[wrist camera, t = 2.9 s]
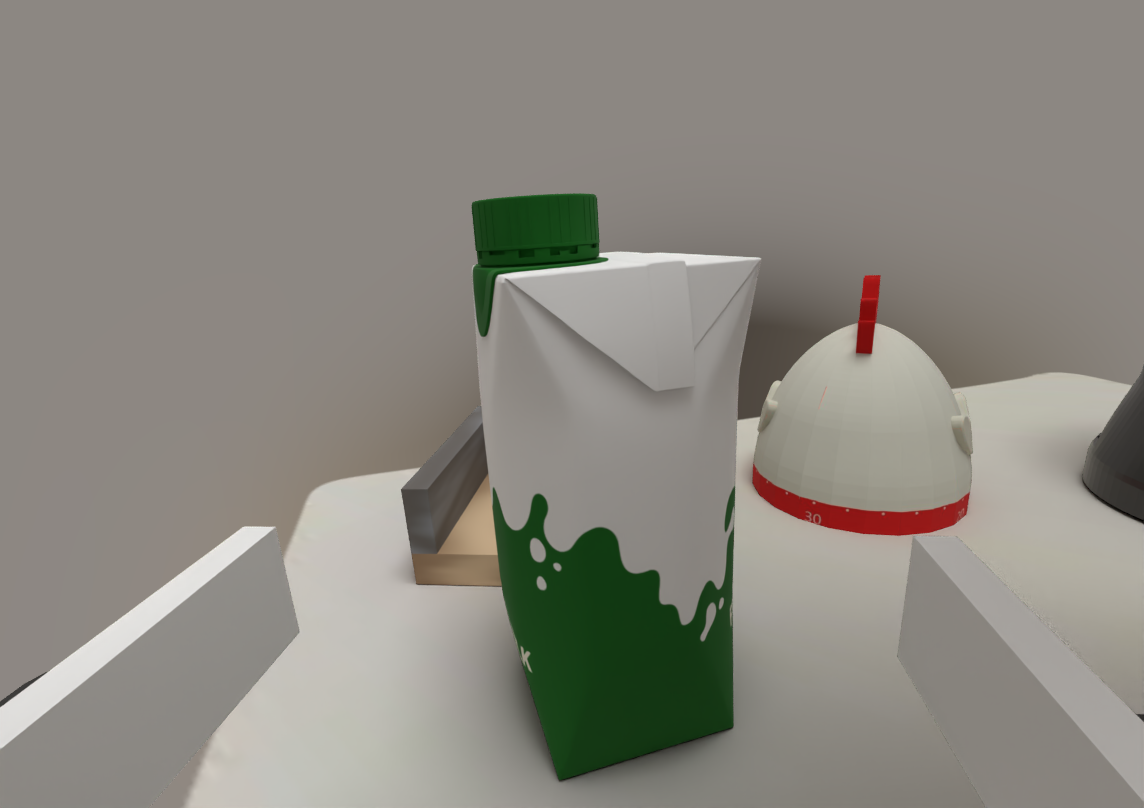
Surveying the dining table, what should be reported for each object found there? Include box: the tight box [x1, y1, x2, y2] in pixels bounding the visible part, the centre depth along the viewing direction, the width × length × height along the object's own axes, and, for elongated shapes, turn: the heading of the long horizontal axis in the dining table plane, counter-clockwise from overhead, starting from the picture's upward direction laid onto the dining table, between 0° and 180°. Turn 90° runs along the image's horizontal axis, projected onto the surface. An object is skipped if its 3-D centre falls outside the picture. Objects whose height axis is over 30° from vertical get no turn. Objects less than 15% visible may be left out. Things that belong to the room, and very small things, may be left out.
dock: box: [401, 406, 502, 586], centre depth 38 cm, size 16×15×6 cm
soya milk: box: [472, 194, 761, 780], centre depth 22 cm, size 9×9×20 cm
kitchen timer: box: [753, 275, 973, 536], centre depth 39 cm, size 14×14×15 cm
